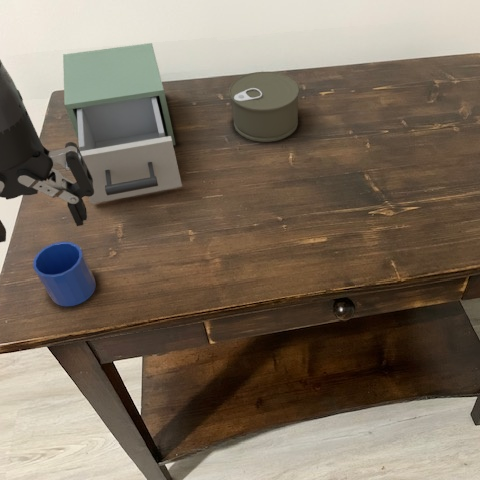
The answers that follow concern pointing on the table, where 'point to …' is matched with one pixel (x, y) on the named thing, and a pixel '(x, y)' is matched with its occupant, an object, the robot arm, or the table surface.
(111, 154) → the drawer
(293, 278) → the table surface
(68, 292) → the cup
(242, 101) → the can
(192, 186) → the table surface
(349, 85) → the table surface
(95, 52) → the mint green cabinet box
